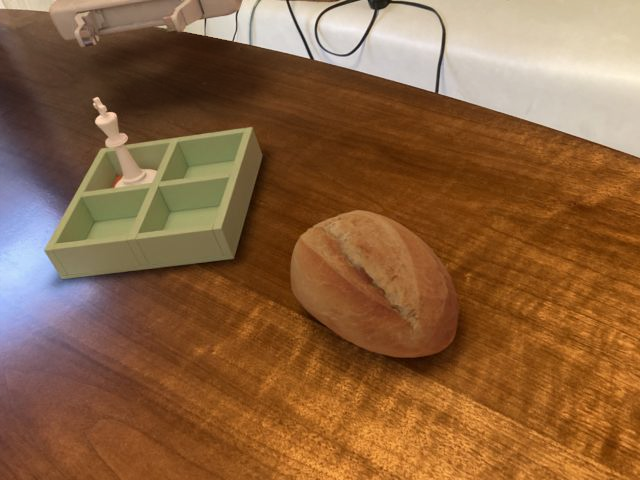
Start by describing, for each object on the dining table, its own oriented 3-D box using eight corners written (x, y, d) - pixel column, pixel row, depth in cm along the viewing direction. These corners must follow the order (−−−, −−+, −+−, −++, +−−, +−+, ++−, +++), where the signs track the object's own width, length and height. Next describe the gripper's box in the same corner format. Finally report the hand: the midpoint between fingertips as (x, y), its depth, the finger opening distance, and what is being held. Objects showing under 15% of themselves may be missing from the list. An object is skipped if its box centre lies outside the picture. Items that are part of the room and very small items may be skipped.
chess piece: (148, 169, 79) (106, 80, 72) (173, 184, 76) (132, 92, 69) (107, 194, 77) (59, 104, 70) (131, 210, 74) (84, 118, 67)
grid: (61, 279, 69) (43, 250, 66) (114, 176, 80) (100, 148, 78) (234, 259, 66) (221, 228, 64) (262, 155, 78) (252, 126, 76)
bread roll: (397, 406, 52) (374, 323, 46) (270, 310, 61) (238, 231, 55) (494, 324, 55) (483, 238, 50) (361, 245, 65) (340, 166, 59)
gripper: (64, -34, 87) (16, 18, 77) (238, -65, 84) (213, -15, 74) (88, 20, 91) (46, 76, 81) (255, -7, 88) (233, 47, 78)
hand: (127, 32), depth 78 cm, fingers open, 8 cm apart
